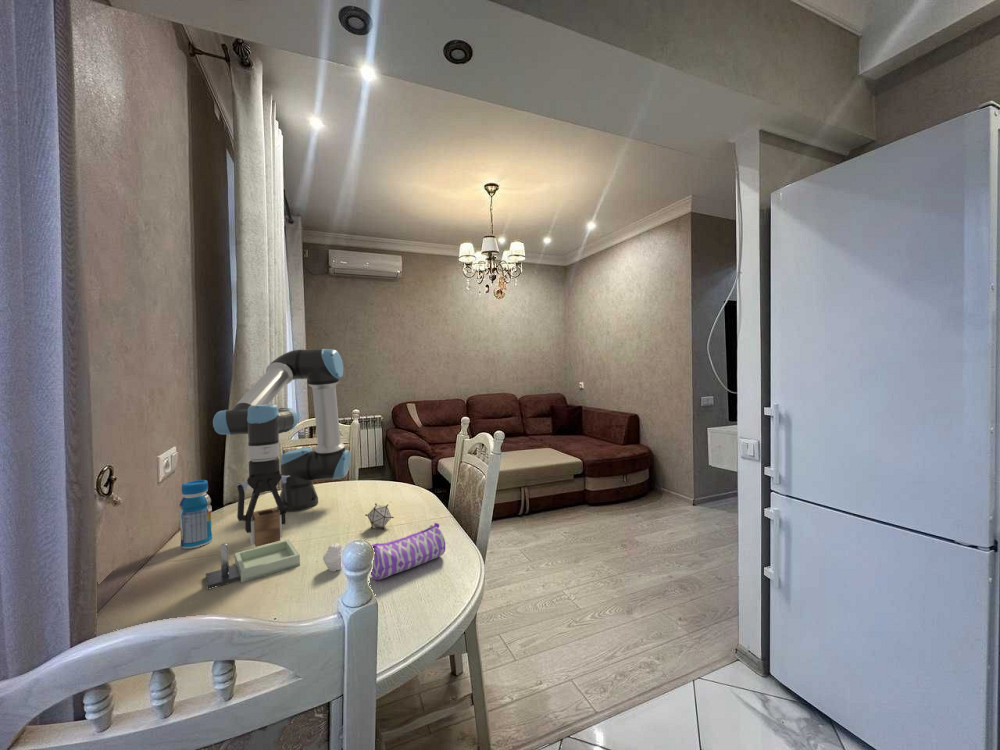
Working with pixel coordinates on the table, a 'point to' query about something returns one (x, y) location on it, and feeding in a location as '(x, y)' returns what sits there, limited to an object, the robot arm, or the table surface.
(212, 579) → the pin
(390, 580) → the table surface
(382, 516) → the game die
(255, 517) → the bore block
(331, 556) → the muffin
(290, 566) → the tray
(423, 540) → the pencil case
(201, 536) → the beverage bottle
